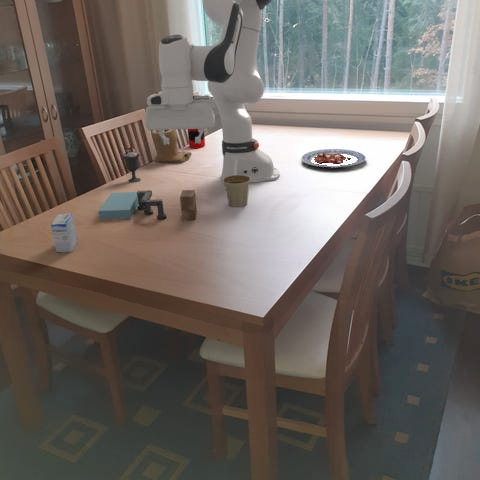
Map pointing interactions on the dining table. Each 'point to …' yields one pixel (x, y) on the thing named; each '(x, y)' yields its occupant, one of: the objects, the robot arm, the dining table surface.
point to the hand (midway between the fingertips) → (182, 143)
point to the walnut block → (188, 205)
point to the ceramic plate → (332, 157)
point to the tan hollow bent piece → (168, 147)
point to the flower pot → (237, 189)
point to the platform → (119, 206)
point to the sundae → (131, 162)
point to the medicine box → (64, 232)
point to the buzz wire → (150, 204)
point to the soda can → (191, 136)
